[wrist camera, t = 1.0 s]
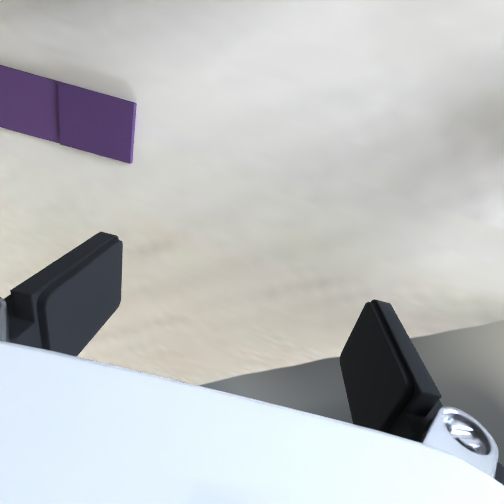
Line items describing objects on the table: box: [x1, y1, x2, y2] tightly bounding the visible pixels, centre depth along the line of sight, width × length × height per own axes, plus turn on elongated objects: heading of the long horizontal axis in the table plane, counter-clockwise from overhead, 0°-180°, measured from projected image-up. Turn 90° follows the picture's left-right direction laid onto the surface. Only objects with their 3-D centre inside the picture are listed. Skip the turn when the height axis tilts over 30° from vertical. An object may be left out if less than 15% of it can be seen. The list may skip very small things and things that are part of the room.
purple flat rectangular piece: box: [0, 65, 136, 163], centre depth 36 cm, size 7×18×1 cm, turn 76°
